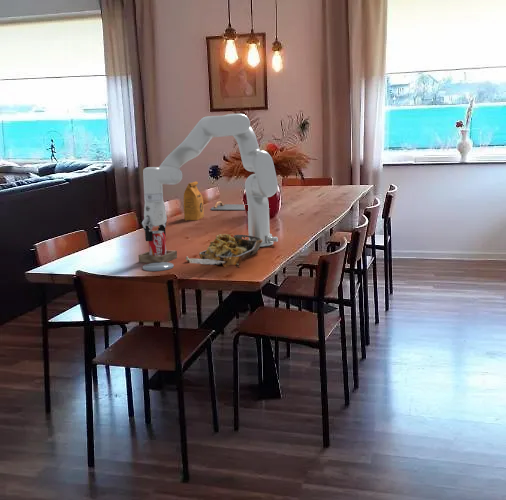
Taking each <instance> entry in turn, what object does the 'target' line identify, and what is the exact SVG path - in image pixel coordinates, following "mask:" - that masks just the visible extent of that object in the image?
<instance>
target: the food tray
mask: <svg viewBox="0 0 506 500" xmlns="http://www.w3.org/2000/svg"><path fill="white" fill-rule="evenodd" d="M246 238H248V239H246ZM249 238H250V240H249ZM253 238H255V239H256V240H257V241H252V240H253ZM255 239H254V240H255ZM261 242H262V239H260V238H258V237H254V236H249V234H247V235H246V234H234V233H230V234H227V233H219V234H218V235H215V239H214V240H211V241H209V245H208V247H207V248H206V250H203V251H200V252H199V253H198V255H199V258H189V256H185V260H186V261H187V262H189V264H201V265H221V264H222V266H223V267H224V268H229V267H230V265H233V266H235V267H236V268H238V269H239V268H240V264H239V263H242V261H243V262H246V261H245V260H248V258H251V256H253V255H255V254H257V253H258V250H259V249H260V244H261ZM262 256H263V257H265V254H264V255H262ZM253 259H254V258H253Z"/></svg>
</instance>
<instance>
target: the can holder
mask: <svg viewBox="0 0 506 500" xmlns="http://www.w3.org/2000/svg"><path fill="white" fill-rule="evenodd" d="M166 253H167V254H165V255H162V256H155V255H149V250H148V251H146V252H143V253H140V254H138V262H139V263H146V264H149V263H156V262H168V263H169V262H171V261H173V260H175V259H177V258H178V252H177V250H167V249H166Z"/></svg>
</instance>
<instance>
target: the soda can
mask: <svg viewBox="0 0 506 500" xmlns="http://www.w3.org/2000/svg"><path fill="white" fill-rule="evenodd" d="M152 232H153V241H148V251H149V255H155V256H162V255H165V254H167V253H166V250H167V241H166V237H165V234H164V233H163V231H161V230H158V229H157V230H152Z"/></svg>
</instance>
